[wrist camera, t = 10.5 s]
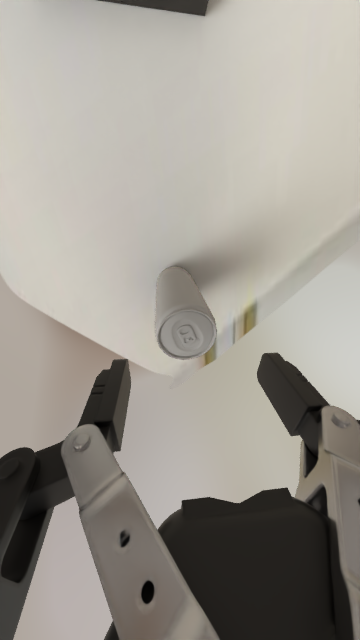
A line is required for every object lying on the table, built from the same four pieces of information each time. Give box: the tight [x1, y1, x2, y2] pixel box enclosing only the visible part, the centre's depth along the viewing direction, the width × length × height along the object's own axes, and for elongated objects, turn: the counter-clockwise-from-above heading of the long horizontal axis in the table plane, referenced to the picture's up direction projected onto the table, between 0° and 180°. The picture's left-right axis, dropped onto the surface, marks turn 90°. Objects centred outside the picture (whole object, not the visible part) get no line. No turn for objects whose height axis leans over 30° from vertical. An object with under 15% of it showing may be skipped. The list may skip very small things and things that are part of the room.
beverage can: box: [155, 267, 217, 360], centre depth 19 cm, size 5×5×12 cm
